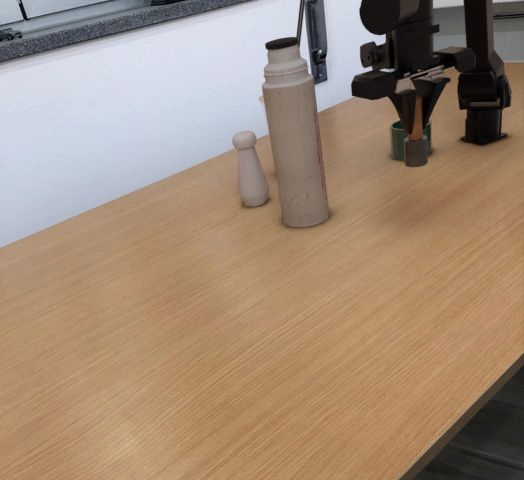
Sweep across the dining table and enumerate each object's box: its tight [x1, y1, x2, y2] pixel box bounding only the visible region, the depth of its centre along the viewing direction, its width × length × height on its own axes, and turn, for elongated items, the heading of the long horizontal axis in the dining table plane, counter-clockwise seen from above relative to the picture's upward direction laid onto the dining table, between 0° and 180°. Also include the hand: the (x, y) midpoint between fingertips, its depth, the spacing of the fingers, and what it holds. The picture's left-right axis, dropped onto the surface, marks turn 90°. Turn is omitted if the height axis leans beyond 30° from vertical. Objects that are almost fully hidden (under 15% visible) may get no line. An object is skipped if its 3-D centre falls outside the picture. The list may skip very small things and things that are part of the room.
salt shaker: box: [231, 130, 270, 208], centre depth 110 cm, size 6×6×13 cm
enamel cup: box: [389, 118, 433, 162], centre depth 119 cm, size 8×8×6 cm
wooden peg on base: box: [404, 96, 429, 168], centre depth 93 cm, size 4×4×10 cm
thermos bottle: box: [261, 36, 330, 228], centre depth 96 cm, size 8×8×28 cm
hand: (415, 131), depth 93 cm, fingers closed on wooden peg on base, 2 cm apart
